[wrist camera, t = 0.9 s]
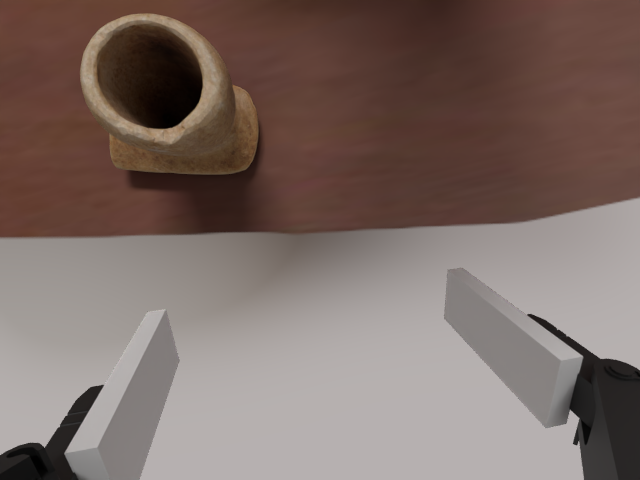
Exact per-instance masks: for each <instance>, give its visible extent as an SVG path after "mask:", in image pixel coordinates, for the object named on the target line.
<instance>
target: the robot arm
mask: <svg viewBox="0 0 640 480" xmlns="http://www.w3.org/2000/svg"><path fill="white" fill-rule="evenodd" d="M444 318H445V319H446V321H447V322H448V323H449V324H450V325H451V326H452V327H453V328H454V329H455V330H456V332H457V333H458V334H459V335H460V336H461V337H462V338H463V339H464V340H465V341H466V342H467V343H468V344H469V346H470V347H471V348H472V349H473V350H474V351H475V352H476V353H477V354H478V355H479V356H480V358H481V359H482V360H483V361H484V362H485V363H486V364H487V365H488V366H489V367H490V368H491V369H492V370H493V372H495V374H496V375H497V376H498V377H499V378H500V379H501V380H502V381H503V382H504V383H505V385H506V386H508V388H509V389H510V390H511V391H512V392H513V393H514V394H515V395H516V396H517V397H518V399H519V400H520V401H521V402H522V403H523V404H524V405H525V406H526V407H527V408H528V409H529V410H530V412H532V414H533V415H534V416H535V417H536V418H537V419H538V420H539V421H540V422H541V423H542V425H544V427H545V428H549V427H553V426H558V425H563V424H566V423H567V419H568V415H569V411H570V410H571V411H573V413H575V414H576V415H577V416H578V417H579V418H580V419H579V423H578V427H577V430H576V434H575V437H574V442H573V444H574V445H577V444H578V441H579V442H580V449H581V458H582V466H583V473H584V480H640V370H638V369H637V368H635V367H633V366H631V365H629V364H627V363H624V362H621V361H618V360H613V359H600V358H598V357H597V356H596V355H594V354H593V353H591V352H590V351H588V350H587V349H586V348H584V347H583V346H581V345H580V344H579V343H577V342H576V341H574V340H573V339H571V338H570V337H567V336H566V334H564V333H563V332H561V331H560V330H557V328H556V327H554V326H553V325H552V324H550V323H549V322H547V321H546V320H544V319H541V318H539V317H537V316H535V315H532V314H528V315H526V314H525V313H523V312H522V311H520V310H519V309H518V308H516V307H515V306H514V305H512V304H511V303H509V302H508V301H507V300H505V299H504V298H503V297H501V296H500V295H499V294H497V293H496V292H495V291H493V290H492V289H490V288H489V287H488V286H486V285H485V284H484V283H482V282H481V281H480V280H478V279H477V278H476V277H474V276H473V275H471V274H470V273H469V272H467V271H466V270H465V269H463V268H458V269H450V270H448V274H447V287H446V300H445V314H444ZM178 363H179V357H178V353H177V350H176V346H175V342H174V338H173V334H172V330H171V326H170V323H169V319H168V315H167V311H166V309H164V310H157V311H149V312H147V314H146V315H145V317H144V319H143V320H142V322H141V324H140V325H139V327H138V329H137V330H136V332H135V334H134V336H133V337H132V339H131V341H130V342H129V344H128V346H127V347H126V349H125V351H124V353H123V354H122V356H121V358H120V359H119V361H118V363H117V365H116V366H115V368H114V370H113V371H112V373H111V375H110V376H109V378H108V380H107V381H106V383H105V385H101V386H94V387H90V388H89V389H88V390H87V391H86V392H85V393H83V394H82V395H81V396H80V397H79V398H78V399H77V400H76V401H75V403H74V404H73V406H72V407H71V409H70V410H69V412H68V415H67V416H65V418H64V420H63V421H62V423H61V424H60V427H59V428H58V429H57V430H56V432H55V433H54V435H53V436H52V438H51V439H50V441H49V442H48V444H47V446H46V447H45V448H44V447H43V446H42V445H41V444H40V443H27V444H24V445H20V446H17V447H15V448H13V449H11V450H8V451H6V452H5V453H3V454H2V455H0V480H139V479H140V476H141V473H142V470H143V467H144V464H145V461H146V458H147V455H148V452H149V449H150V447H151V444H152V440H153V437H154V435H155V431H156V429H157V425H158V423H159V420H160V417H161V414H162V411H163V408H164V405H165V402H166V399H167V396H168V393H169V390H170V387H171V384H172V381H173V378H174V375H175V372H176V369H177V366H178Z"/></svg>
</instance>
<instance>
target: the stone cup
mask: <svg viewBox="0 0 640 480" xmlns="http://www.w3.org/2000/svg"><path fill="white" fill-rule="evenodd" d="M80 79H81V87H82V91H83V95H84V99H85V101H86V103H87V105H88V107H89V109H90V111H91V113H92V114H93V116H94V117H95V119H96V120H97V122H98V123H99V124H100V125H101V126H102V127H103V128H104V129H105V130H106V131H107V132H108V133H110V154H111V159H112V162H113V164H114V165H115V166H116V167H117V168H119V169H124V170H135V171H144V172H158V173H171V172H172V173H179V174H208V175H209V174H232V173H236V172H240V171H243V170H246V169H247V168H248V167H249V165H250V164H251V163H252V161H253V158H254V156H255V152H256V149H257V143H258V135H259V129H258V116H257V111H256V108H255V106H254V104H253V103H252V99H251V97H250V95H249V94H248V93H247V92H246V91H245V90H243V89H242V88H240V87H237V86H234V85H232V82H231V78H230V75H229V72H228V70H227V67H226V65H225V64H224V62H223V60H222V58H221V56H220V55H219V54H218V52H217V51H216V49H215V48H214V47H213V46H212V45H211V44H210V43H209V42H208V41H207V40H206V39H205V38H204V37H203V36H202V35H200V34H199V33H198V32H197V31H195V30H194V29H192V28H191V27H189V26H187V25H186V24H184V23H182V22H180V21H178V20H175V19H172V18H170V17H167V16H162V15H156V14H132V15H128V16H124V17H121V18H119V19H117V20H114V21H112V22H110V23H108V24H106V25H105V26H103V27H102V28H100V29H99V30H98V31H97V33H96V34H95V35H94V36H93V37H92V39H91V40H90V42H89V44H88V45H87V47H86V49H85V51H84V54H83V58H82V62H81V69H80Z"/></svg>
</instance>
